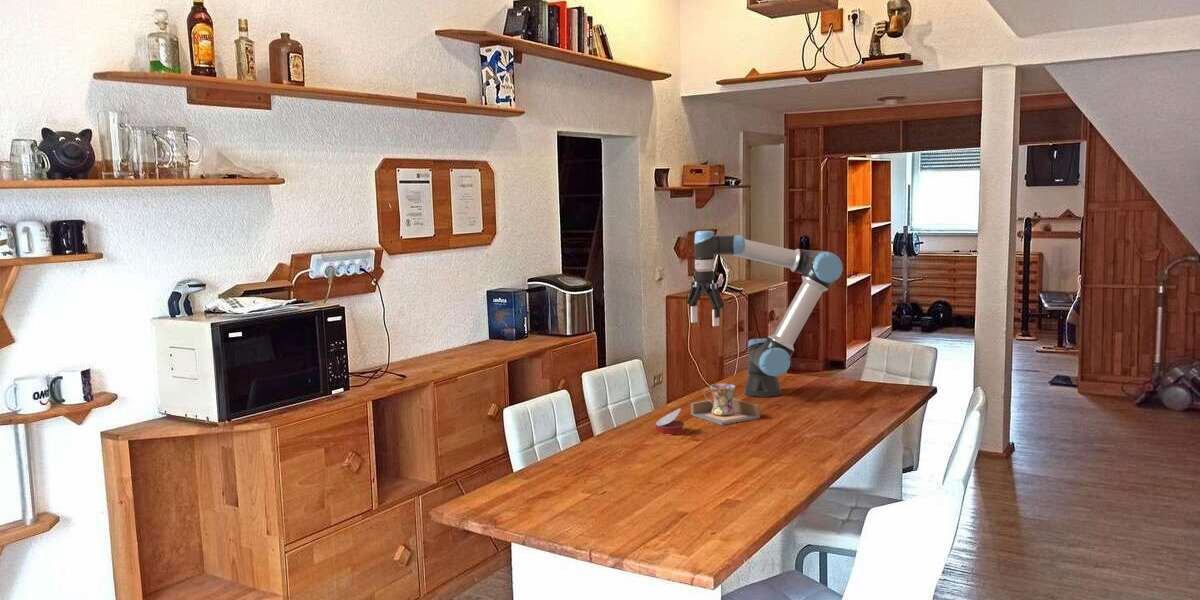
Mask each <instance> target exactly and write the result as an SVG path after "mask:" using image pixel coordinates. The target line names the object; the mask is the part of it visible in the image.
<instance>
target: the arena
mask: <svg viewBox="0 0 1200 600" xmlns="http://www.w3.org/2000/svg"><path fill="white" fill-rule="evenodd" d="M709 400H710V401H712V402H713V403H714V398H712V399H709ZM713 403H711V402H709V401H708V400H707V399H706V400H701V401H700V400H699V401H693V402H690V416H691V415H693V416H696V417H699V418H702V419H705V420H708V421H707V422H709V421H711V422H710V423H712V422H714V423H713V424H715V423H717V424H716V425H718V424H720V425H719V426H726V424H727V425H732V424H736V422H738V423H742V421H743V422H748V420H749V421H754V420H758V418H759V419H760V417H761V406H760V404H757V403H753V402H750V401H746V400H741V399H739V398H734V397H732V406H733V409H734V413H733V414H731V415H727V416H720V415H715V414H713V413H712V412H711V411H712V409H713V406H712V404H713ZM696 417H695V418H696ZM699 418H698V419H699ZM702 419H701V420H702ZM705 420H704V421H705ZM731 423H732V424H731Z"/></svg>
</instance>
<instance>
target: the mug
mask: <svg viewBox="0 0 1200 600" xmlns="http://www.w3.org/2000/svg"><path fill="white" fill-rule="evenodd" d="M735 390H736V385H734V384H731V383H715V384H713V383H712V384H711V385H710V387H709V388H705V389H704V390H703V392H702V393H703V396H704V398H705V399H706V400H708V401H709V402H711V403H713V402H712V401H710V400H711V399H709V398H708V397H707V395H706V393H705V391H710V393H711V395H712V397H713V398H712V399H714V403H713V404H712V406H713V409H712V411H711V412H712V413H713V414H715V415H720V416H727V415H731V414H733V413H734V409H733V406H732V398H733V394H734V391H735Z"/></svg>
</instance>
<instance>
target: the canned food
mask: <svg viewBox="0 0 1200 600" xmlns="http://www.w3.org/2000/svg"><path fill="white" fill-rule="evenodd" d="M681 411H682V408H678V409H676V410H674V411H672V412H670V413H667V414H666V415H664V416H662V417H661V418H659V419H658V421H656V422H655V432H656V431H657V432H658V433H662V434H678V433H682V432H684V433H685V429H684V428H685V423H684V422H683V421H680V420H675V419H676V418H677V417H678V416H679V414H680V412H681ZM658 433H657V434H658ZM662 434H661V435H662ZM682 434H683V433H682ZM678 435H679V434H678Z"/></svg>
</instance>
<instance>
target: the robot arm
mask: <svg viewBox="0 0 1200 600" xmlns="http://www.w3.org/2000/svg"><path fill="white" fill-rule="evenodd" d="M693 243H694V270H695V271H694V279H695V281H691V285H690V289H689V294H688V297H687V299H686V304H687V305H689V306H690V307H689V308H690V309H689V310H690V312H689V313H690V322H691V324H692V323H694V324H695V323H698V321H699V320H698V319H699V318H698V301H699V300H700V298H701V297H702V295H705V296H707V298H708V299H709V302H710V303H711V306H712V307H713V308H712V314H711V315H712V327H719V326H720V316H721V313H720V312H721V309H723V308H724V302H723V300H722V296H721V293H720V290H719V283H713V281H714V280H715V256H719V255H727V256H729V255H730V256H732V257H733V256H734V257H738V258H743V259H747V260H751V261H757V262H760V263H765V264H768V265H773V266H778V267H782V268H787V269H790V271H791V272H793V273H798V274H801V279H802V283H801V284H800V286H799V288H798V290H797V292H796V294H795V295H794V297H793V299H792V300H791V303H790V304H789V306H788V308H787V310H786V312H785V313H784V315H783V317H782V319H781V320H780V322H779V324H778V326H777V328H776V329H775V331H774V333H773V334H772V335H768V336H767V338H752V339H749V340H748V342H747V343H748V344H747V361H748V363H747V364H748V366H747V369H748V371H747V372H748V373H747V377H746V381H745V386H744V387H743V394H744V393H745V394H744V395H745V396H749V397H754V396H756V397H757V398H772V396H773V397H778V396H781V394H782V387H781V385H780V382H779V381H780V380H779V379H778V377H780V376H782V375H784V374H785V373H787V371H788V370H789V368H790V366H791V357H792V355H793V354H794V352H795V349H794V344H795V342H796V340H797V338H798V337H799V335H800V332H801V331H802V330H803V328H804V326H805V324H806V322H807V320H808V318H809V317H810V315H811V314H812V312H813V310H814V308H815V306H816V305H817V304H818V303H817V302H818V301H819V299H820V298H821V295H822V293H824V292H827V291H828V290H829V289H830V287H831V286H832V284H833V283H834V282H835V281H838V279H840V277H841V276H842V273H843V268H844V267H843V263H842V261H841V259H840V257H839V256H838V255H837V254H834V253H833V252H831V251H824V250H823V251H822V250H808V249H801V248H796V249H790V248H786V247H781V246H776V245H772V244H768V243H764V242H760V241H755V240H750V239H745V238H744V236H743V235H739V234H732V235H731V234H725V233H717V234H716V235H715V233H714V231H713V230H697V231H696V232H695V233H694V241H693Z"/></svg>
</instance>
